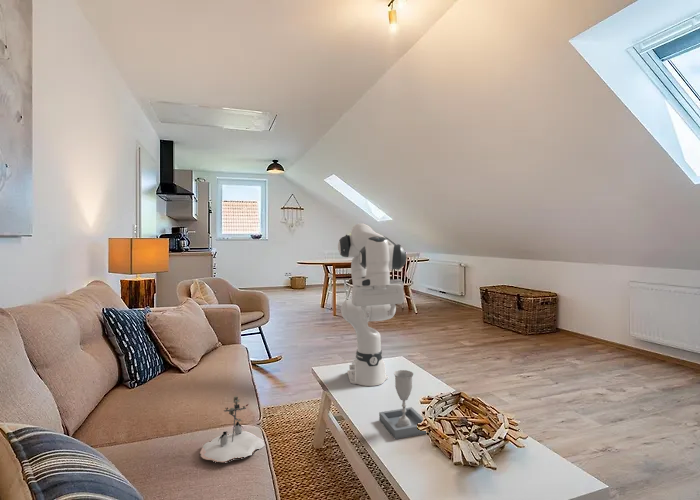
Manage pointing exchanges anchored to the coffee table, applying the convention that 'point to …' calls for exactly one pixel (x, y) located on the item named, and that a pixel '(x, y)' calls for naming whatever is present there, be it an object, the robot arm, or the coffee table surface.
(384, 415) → the tray
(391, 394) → the coffee table surface
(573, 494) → the coffee table surface
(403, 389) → the chalice
